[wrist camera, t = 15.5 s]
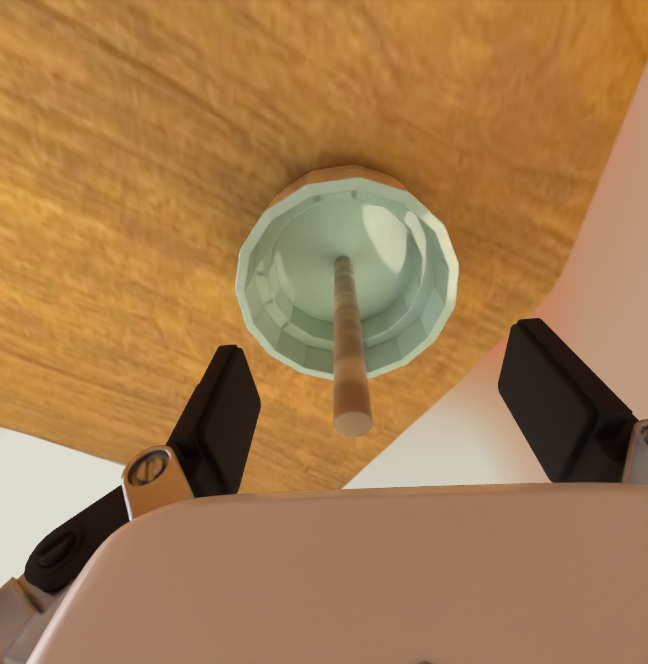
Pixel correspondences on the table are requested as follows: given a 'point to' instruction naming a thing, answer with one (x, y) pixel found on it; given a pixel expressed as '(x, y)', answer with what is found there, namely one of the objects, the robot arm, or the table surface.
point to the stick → (349, 357)
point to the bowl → (368, 263)
